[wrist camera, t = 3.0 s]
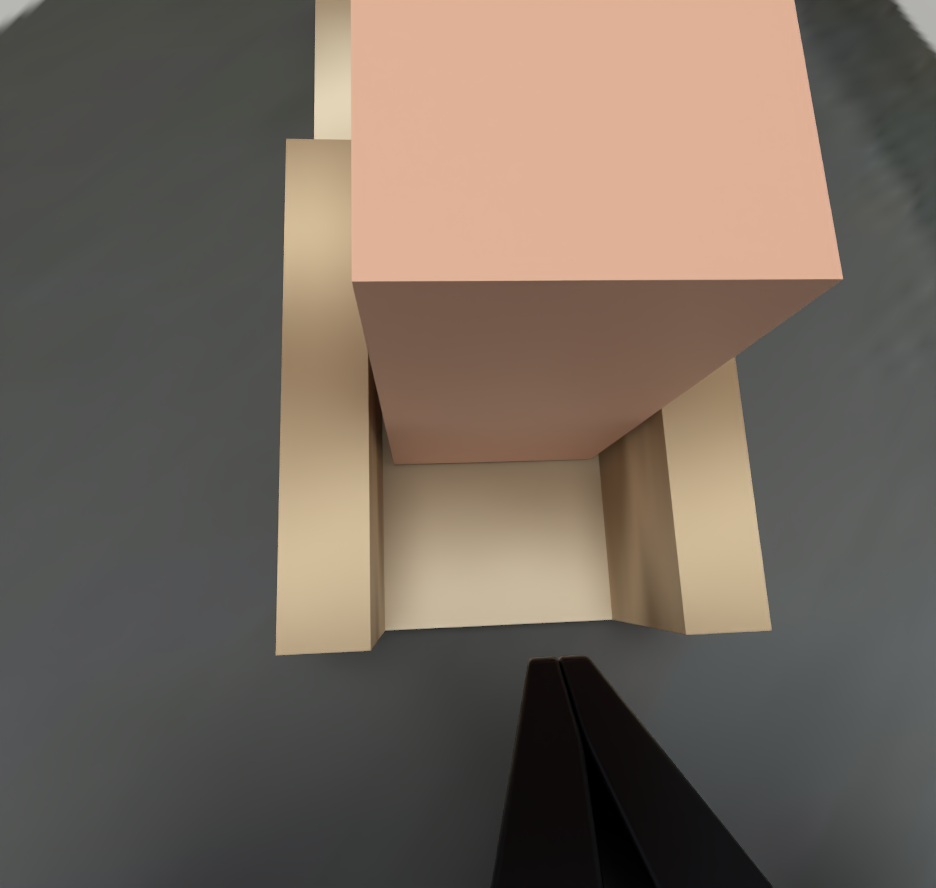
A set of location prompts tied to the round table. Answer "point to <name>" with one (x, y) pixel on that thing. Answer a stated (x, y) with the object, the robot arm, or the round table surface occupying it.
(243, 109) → the round table surface
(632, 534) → the chute
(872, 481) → the round table surface
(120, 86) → the round table surface
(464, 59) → the block
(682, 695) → the round table surface
